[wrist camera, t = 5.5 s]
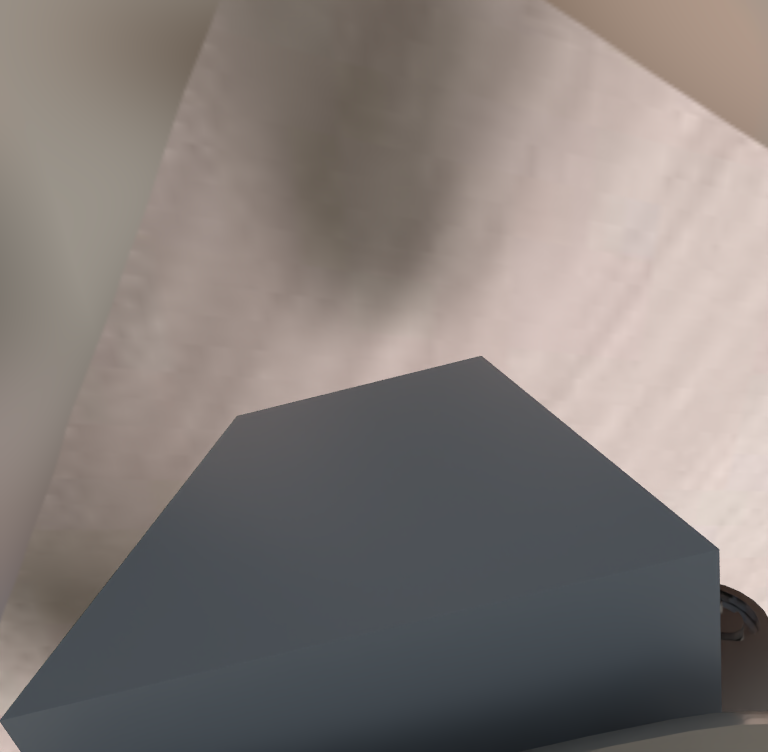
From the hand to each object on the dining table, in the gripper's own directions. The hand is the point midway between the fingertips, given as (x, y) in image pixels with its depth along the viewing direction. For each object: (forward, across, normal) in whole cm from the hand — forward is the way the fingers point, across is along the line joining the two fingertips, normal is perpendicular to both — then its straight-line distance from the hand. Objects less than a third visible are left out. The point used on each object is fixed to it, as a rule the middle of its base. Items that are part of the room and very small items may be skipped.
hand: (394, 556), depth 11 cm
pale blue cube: (+3, 0, 0) cm, 3 cm away
